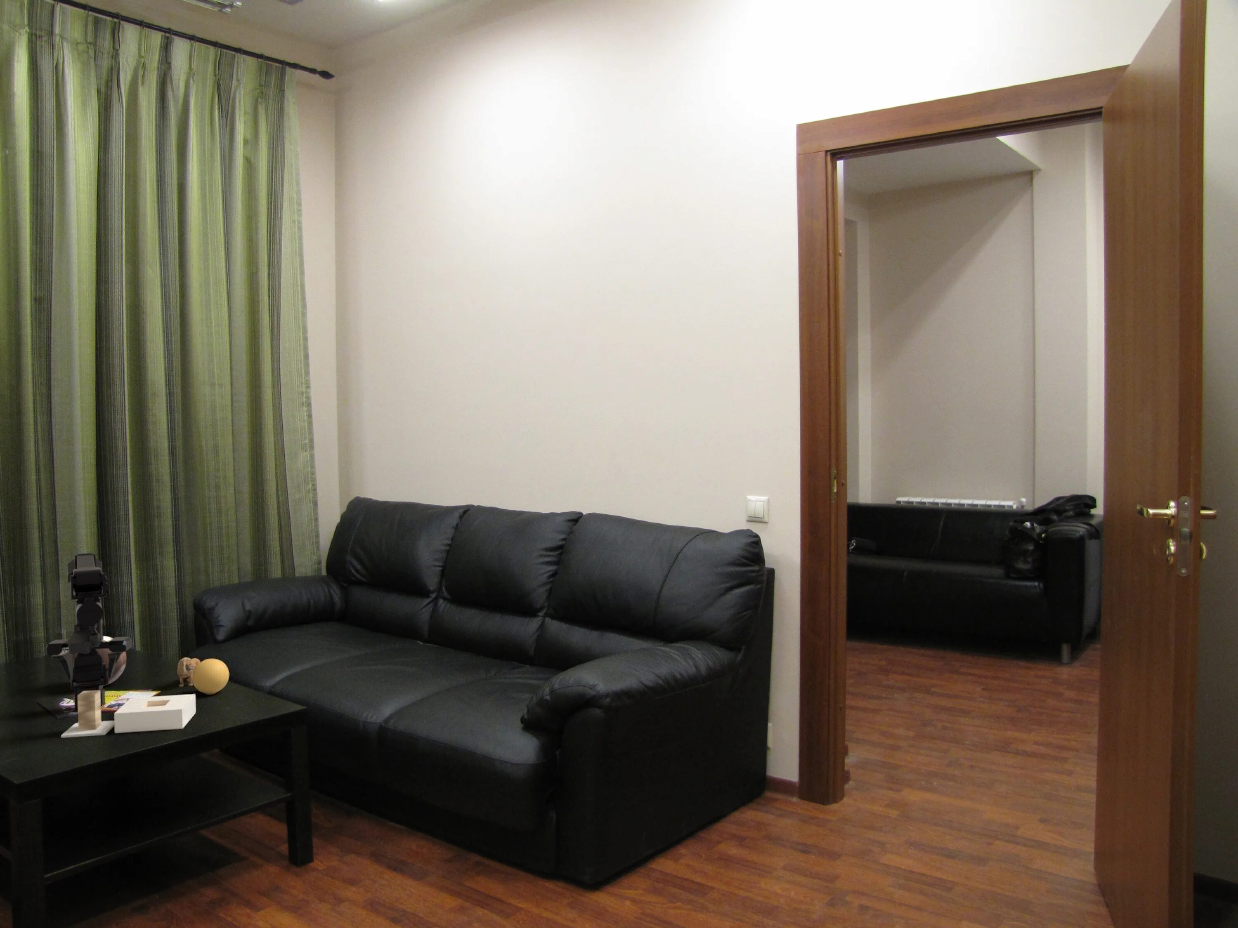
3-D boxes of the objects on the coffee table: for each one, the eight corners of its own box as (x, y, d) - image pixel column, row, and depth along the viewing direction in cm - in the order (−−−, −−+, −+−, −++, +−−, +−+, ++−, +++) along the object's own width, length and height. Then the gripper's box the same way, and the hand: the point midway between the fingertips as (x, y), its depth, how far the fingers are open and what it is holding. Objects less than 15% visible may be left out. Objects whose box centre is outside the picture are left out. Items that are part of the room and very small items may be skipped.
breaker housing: (114, 732, 239) (114, 713, 238) (131, 716, 252) (131, 697, 252) (182, 728, 242) (182, 708, 242) (195, 712, 255) (195, 693, 255)
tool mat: (61, 737, 235) (61, 735, 235) (75, 725, 245) (75, 722, 245) (104, 734, 237) (104, 732, 237) (117, 722, 247) (117, 720, 247)
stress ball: (225, 699, 271) (242, 670, 278) (203, 678, 266) (221, 650, 273) (200, 701, 275) (217, 672, 282) (178, 681, 269) (196, 652, 277)
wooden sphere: (124, 689, 279) (122, 639, 278) (65, 695, 273) (64, 643, 273) (129, 677, 293) (128, 629, 292) (74, 682, 287) (73, 633, 286)
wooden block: (78, 730, 239) (77, 695, 238) (84, 725, 243) (83, 690, 242) (95, 729, 240) (94, 694, 239) (101, 724, 243) (100, 690, 243)
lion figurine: (193, 688, 279) (192, 658, 279) (174, 689, 278) (173, 659, 278) (206, 676, 293) (205, 647, 293) (187, 677, 292) (187, 648, 292)
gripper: (35, 626, 231) (37, 689, 232) (118, 623, 235) (119, 685, 235) (53, 617, 242) (55, 678, 243) (132, 614, 246) (133, 673, 246)
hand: (90, 679), depth 241 cm, fingers open, 9 cm apart
